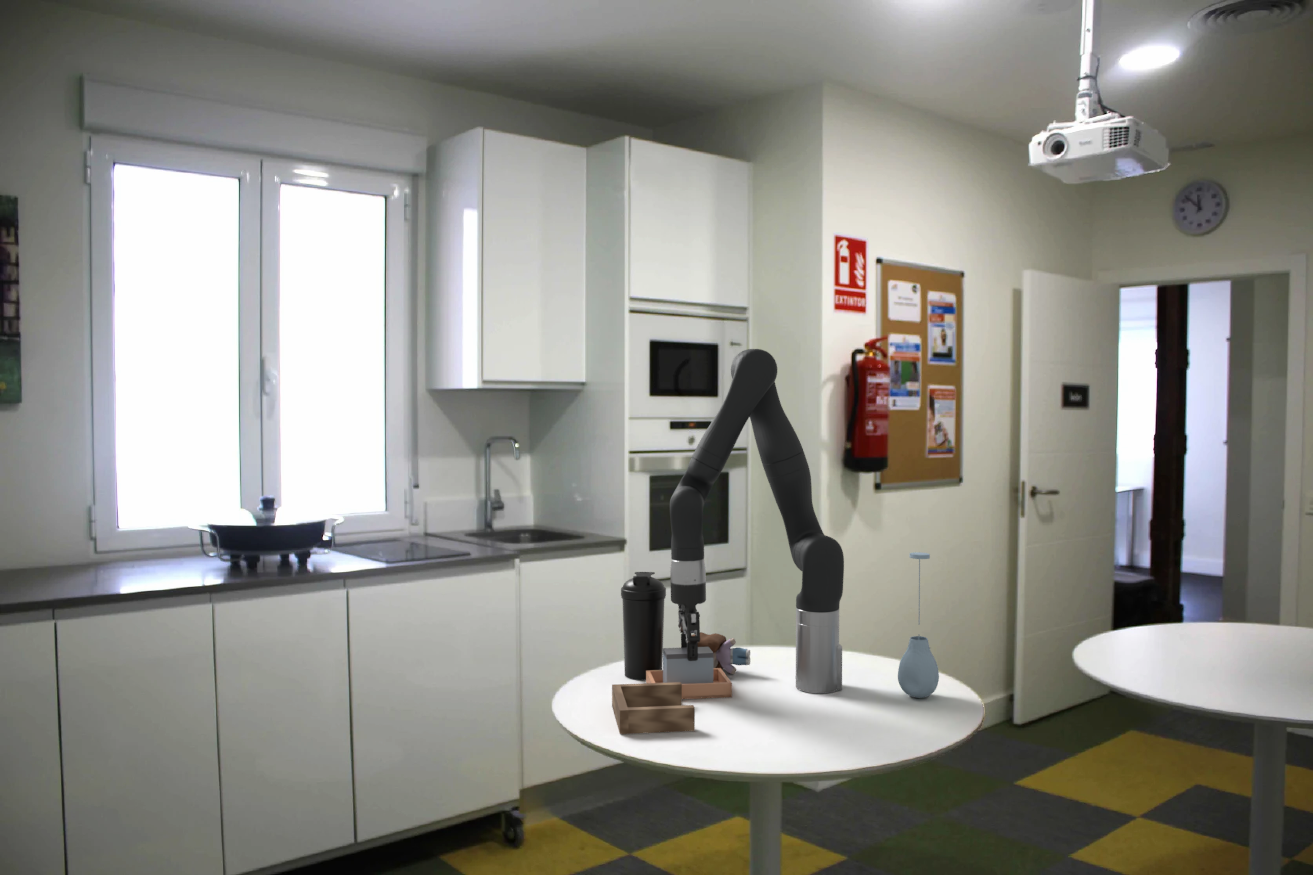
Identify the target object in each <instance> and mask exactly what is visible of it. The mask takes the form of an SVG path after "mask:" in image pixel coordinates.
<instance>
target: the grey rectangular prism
mask: <svg viewBox="0 0 1313 875" xmlns="http://www.w3.org/2000/svg"><path fill="white" fill-rule="evenodd" d="M662 670H663V683H671V682H681V684H692V683H713V652H712V650H711V649H710V648H709V647H698V660H697V661H688V659H687V647H684V648H681V647H663V662H662Z"/></svg>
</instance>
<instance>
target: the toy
mask: <svg viewBox="0 0 1313 875" xmlns="http://www.w3.org/2000/svg"><path fill="white" fill-rule="evenodd" d="M691 636H695V634H694V633H692V634H691ZM736 644H737V642H736V639H735V637H733V638H729V639H728V640H727V637H726V636H725V635H723V634H720V633H716V632H715V633H712V634H708V633H705V632H702V631H700V642H699V643H698V647H709V648H710V649H711V650H712V652H713V668H721V669H722V670H725V671H726V672H727V673H728V674H729V675H735V674H736V672H737V668H736V667H735V666H750V664H751V650H750V649H748V648H744V647H733V646H734V645H736ZM734 665H735V666H734Z"/></svg>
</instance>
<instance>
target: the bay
mask: <svg viewBox="0 0 1313 875" xmlns="http://www.w3.org/2000/svg"><path fill="white" fill-rule="evenodd" d="M682 700H683V699H682V684H681V682H671V683H646V682H643V683H625V684H624V683H622V684H611V708H612V710H613V714H614V719H615V722H616V725H617V729H618V732H619V734H620V735H630V734H634V735H635V734H654V733H678V732H679V733H680V732H695V728H696V727H695V726H696V724H695V722H696V719H695V718H696V717H695V716H696V714H695V713H696V711H695V708H696V707H695V705H694V704H689V705H688V704H687V705H686V704H685V705H684V704H683V702H682Z"/></svg>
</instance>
